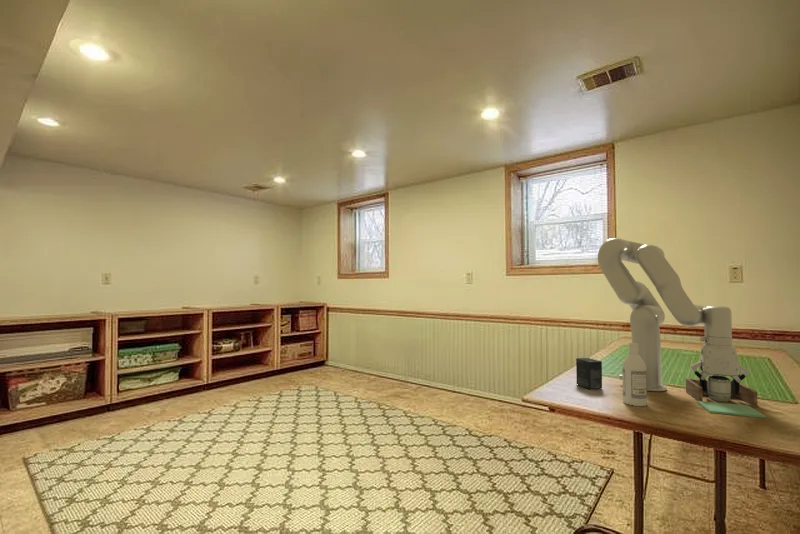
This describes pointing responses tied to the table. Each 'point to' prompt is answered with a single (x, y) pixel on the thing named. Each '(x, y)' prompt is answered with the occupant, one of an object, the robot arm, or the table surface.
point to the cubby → (743, 393)
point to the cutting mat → (730, 409)
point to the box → (589, 373)
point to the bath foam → (634, 378)
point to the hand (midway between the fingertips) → (719, 391)
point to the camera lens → (719, 388)
